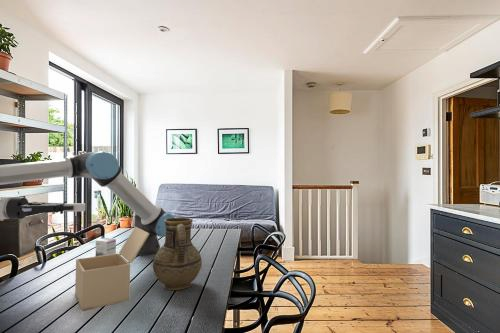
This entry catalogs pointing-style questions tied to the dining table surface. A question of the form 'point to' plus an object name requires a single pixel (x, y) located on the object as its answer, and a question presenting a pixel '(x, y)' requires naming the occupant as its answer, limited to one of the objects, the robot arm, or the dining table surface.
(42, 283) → the dining table surface
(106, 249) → the syrup box
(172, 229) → the decorative pitcher
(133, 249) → the lid flap
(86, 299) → the carton
